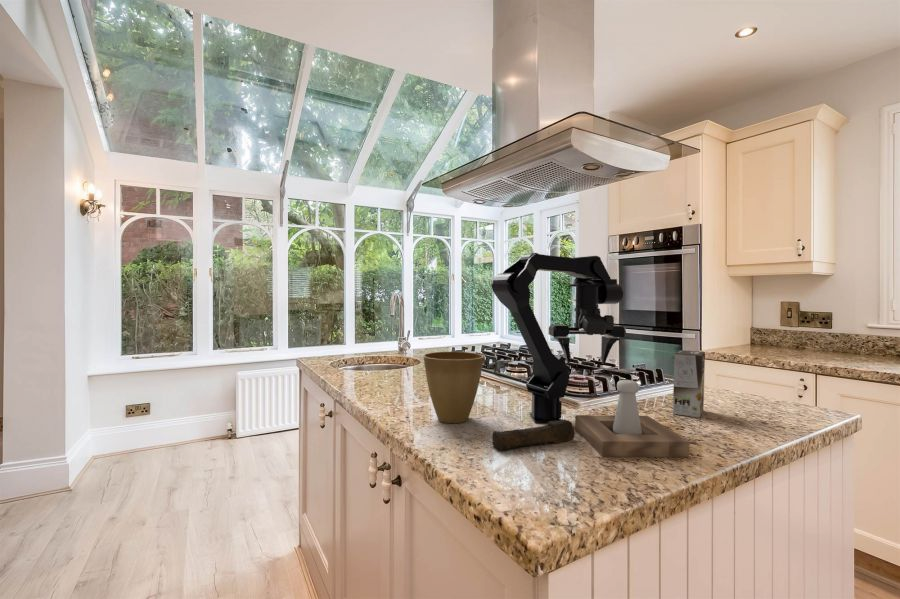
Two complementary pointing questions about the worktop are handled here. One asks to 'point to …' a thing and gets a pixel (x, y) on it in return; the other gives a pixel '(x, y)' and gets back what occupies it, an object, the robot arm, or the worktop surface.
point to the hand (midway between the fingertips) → (585, 363)
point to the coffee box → (688, 383)
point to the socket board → (631, 438)
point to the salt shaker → (627, 409)
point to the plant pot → (453, 383)
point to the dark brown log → (534, 435)
